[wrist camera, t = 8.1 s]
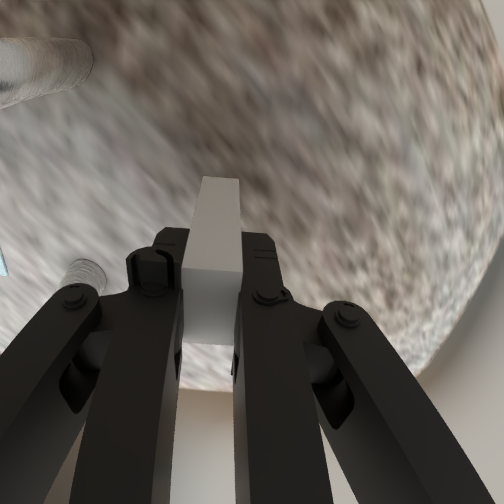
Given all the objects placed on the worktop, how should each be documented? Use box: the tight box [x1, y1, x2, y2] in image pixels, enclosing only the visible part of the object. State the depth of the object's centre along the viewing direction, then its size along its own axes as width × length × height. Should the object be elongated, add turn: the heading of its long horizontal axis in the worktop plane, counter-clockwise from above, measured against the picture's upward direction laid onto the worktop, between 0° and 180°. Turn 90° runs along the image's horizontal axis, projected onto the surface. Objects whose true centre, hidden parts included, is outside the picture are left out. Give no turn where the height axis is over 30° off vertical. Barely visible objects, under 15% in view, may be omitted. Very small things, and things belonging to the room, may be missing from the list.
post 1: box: [0, 37, 93, 109], centre depth 8 cm, size 3×3×8 cm
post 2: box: [54, 259, 106, 296], centre depth 15 cm, size 3×3×8 cm
